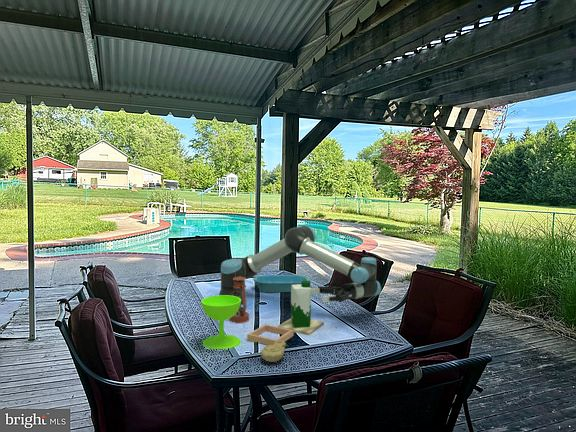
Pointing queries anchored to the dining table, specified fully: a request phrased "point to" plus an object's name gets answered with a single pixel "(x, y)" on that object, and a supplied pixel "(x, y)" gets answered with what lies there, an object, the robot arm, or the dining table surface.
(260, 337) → the holder
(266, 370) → the dining table surface
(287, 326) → the board
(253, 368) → the dining table surface
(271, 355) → the oil lamp
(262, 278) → the casserole dish
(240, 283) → the lantern
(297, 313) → the green white milk carton
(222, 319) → the wineglass
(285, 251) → the robot arm
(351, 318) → the dining table surface
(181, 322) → the dining table surface
